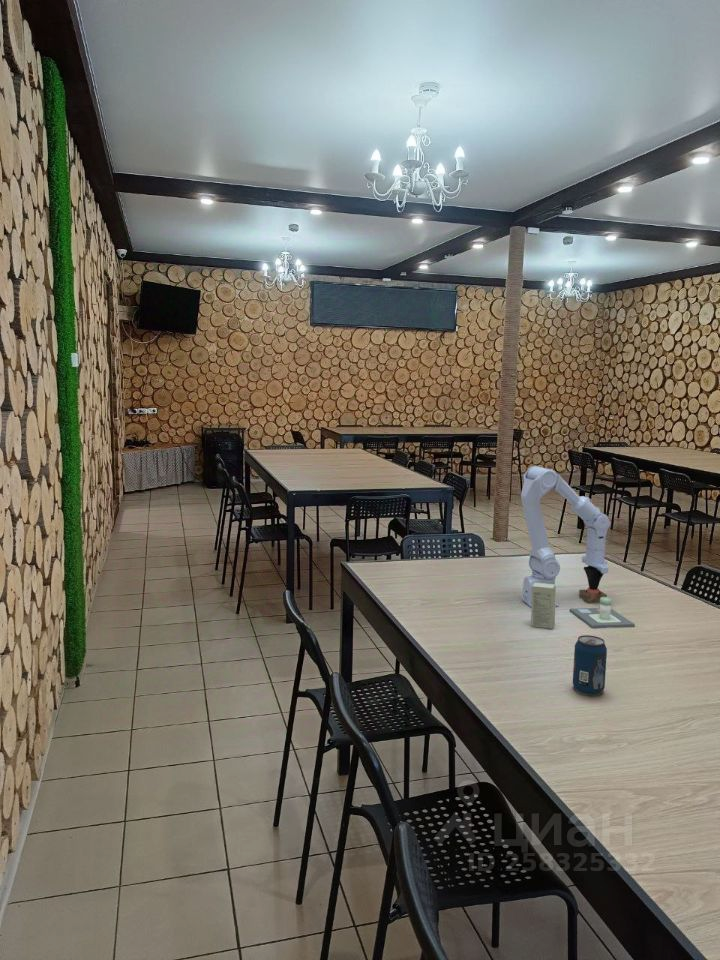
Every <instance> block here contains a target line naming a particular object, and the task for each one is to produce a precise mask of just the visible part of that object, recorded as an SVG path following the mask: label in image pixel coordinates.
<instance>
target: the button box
mask: <svg viewBox="0 0 720 960" xmlns="http://www.w3.org/2000/svg"><path fill="white" fill-rule="evenodd" d="M578 590H579V591H578V592H579V593H578V598H579V599H581V600H583V601H584V602H585V603H587V604H597V603H598V604H600V598H601V597H608V594H606V593H604V592H603V591H602V590H600V589H599V594H588V593H587V589H578Z"/></svg>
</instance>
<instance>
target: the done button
mask: <svg viewBox="0 0 720 960" xmlns="http://www.w3.org/2000/svg"><path fill="white" fill-rule="evenodd" d="M586 590H587V593H588V594H599V590H600V589H599V587H598V588H597V590H591V589H590V588H589V587H588V588H587V589H586Z"/></svg>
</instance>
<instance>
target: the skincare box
mask: <svg viewBox="0 0 720 960" xmlns="http://www.w3.org/2000/svg"><path fill="white" fill-rule="evenodd" d="M555 602H556V583H555V584H545V583H534V584H533V585H532V605H531V607H530V608H531V613H530V614H531V617H530V618H531V619H530V623H531V624H530V625H531V627H535V628H541V629H554V628H555V627H554V626H555V625H556V623H555V622H556V621H555V620H556V606H555Z"/></svg>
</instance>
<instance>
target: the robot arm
mask: <svg viewBox="0 0 720 960" xmlns="http://www.w3.org/2000/svg"><path fill="white" fill-rule="evenodd" d="M522 477H523V485H522V489H521V493H520V498H521V499H520V500H521V504H522V509H523V514H524V518H525V522H526V527H527V532H528V537H529V541H530V544H531V549H530V550H529V551H528V554H529V560H528V566H529V569H530V570H531V575H528V576H525V577H524V579H523V584H522V597H521V600H522V601H523V602H524V603H525V604H526V605H528V606H529V607H530V608H531V605H532V585H533V584H534V583H545V584H555V585H556V577H557V576H558V575H559V573H560V570H561V565H560V563H559V562H558V560H557V559H556V555H555V553H554V552H553V550H552V549H551V547H550V544H549V540H548V535H547V534H548V533H547V530H546V529H547V528H546V525H545V524H546V523H545V521H544V516H543V511H542V507H541V502H540V500H541V499H542V497H544V495H546V494H547V493H549V492H550V490H552V489H553V490H555V491H556V492H557V493H558V494H560V495H561V496H562V497H563V498H564V499H566V500H567V501H568V502H569V503H570V505H571V506H570V508H571V510H572V511H573V512H574V513H575V514H576V515H577V516H578V517H579V518H581V520H582V521H583V524H584V525H585V527H587V529H586V531H587V533H586V545H585V546H586V549H585V555H584V556H581V562H582V563H584V565H587V566H584V567H583V571H584V572H585V575H586V578H587V582H588V588H590V589H591V590H597V588H598V589H599V586H600V582H601V580H602V578H603V576H604V575H605V574H608V573H609V567H608V566H607V565H608V561H607V560H605V553H606V552H605V551H606V537H607V534H608V533H607V532H608V529H610V527H611V524H612V523H611V521H610V519H609V516H608V515H607V514H605V513H602V512H601V509H600V507H597V506H596V505H594V504H593V502H591V500H592V499H591V498H590V497H587V496H584V495H582V496H581V495H580V496H579V495H578V493H577V492H575V490H574V489H573V488H572V487H571V486H570V485H569V484H568V483H567V482H566V481H565V480H564V478H563V477H562V476H561V475H560V474H558V473H557V472H556V471H554V469H552V468H545V467H541V466H539V465H533V466H530V467H529V468H528V469H527V471H525V473H524V475H523V476H522ZM559 606H560V604H558V603H557V602H556V601H555V607H559Z"/></svg>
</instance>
